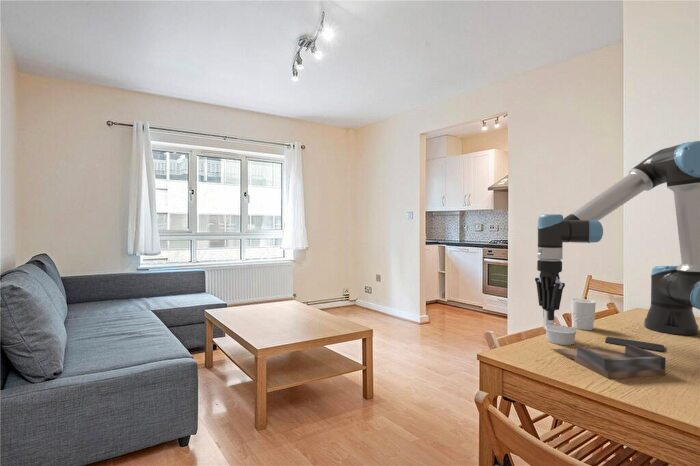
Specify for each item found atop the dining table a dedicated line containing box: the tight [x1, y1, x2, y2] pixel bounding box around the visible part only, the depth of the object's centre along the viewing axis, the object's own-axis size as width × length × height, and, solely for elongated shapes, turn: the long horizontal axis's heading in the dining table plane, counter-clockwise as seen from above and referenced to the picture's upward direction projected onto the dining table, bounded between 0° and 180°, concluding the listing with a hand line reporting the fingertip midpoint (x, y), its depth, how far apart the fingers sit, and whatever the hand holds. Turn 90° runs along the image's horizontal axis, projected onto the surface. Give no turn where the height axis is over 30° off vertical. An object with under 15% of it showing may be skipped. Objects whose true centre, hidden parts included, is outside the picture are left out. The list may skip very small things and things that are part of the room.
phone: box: [604, 336, 666, 353], centre depth 123 cm, size 7×1×15 cm
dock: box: [550, 344, 667, 379], centre depth 109 cm, size 16×22×6 cm
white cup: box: [570, 298, 597, 331], centre depth 142 cm, size 8×8×10 cm
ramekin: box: [544, 324, 577, 346], centre depth 126 cm, size 9×9×4 cm
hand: (548, 328), depth 132 cm, fingers closed
